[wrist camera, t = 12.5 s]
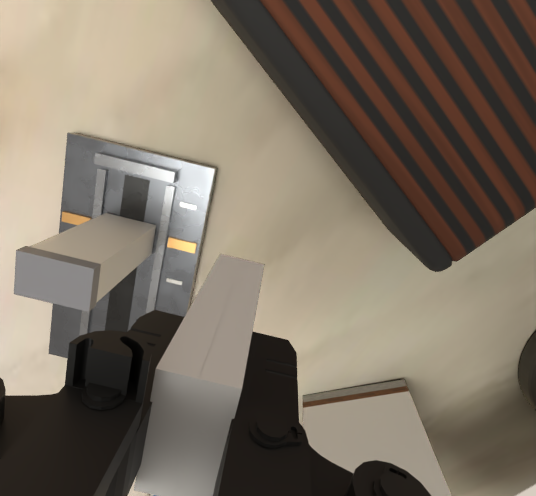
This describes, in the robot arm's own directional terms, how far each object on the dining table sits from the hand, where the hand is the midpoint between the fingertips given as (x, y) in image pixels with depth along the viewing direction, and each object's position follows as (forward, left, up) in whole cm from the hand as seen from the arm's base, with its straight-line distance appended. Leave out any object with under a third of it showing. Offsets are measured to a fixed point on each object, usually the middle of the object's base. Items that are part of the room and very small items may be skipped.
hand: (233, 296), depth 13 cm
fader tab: (-1, +14, -25) cm, 29 cm away
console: (-5, +16, -26) cm, 31 cm away
